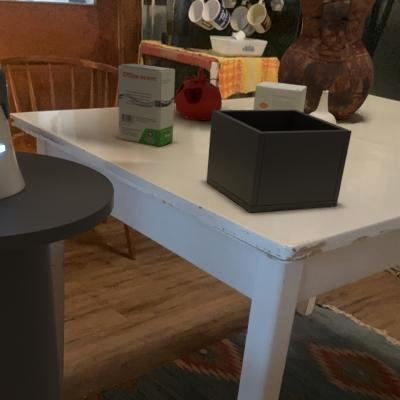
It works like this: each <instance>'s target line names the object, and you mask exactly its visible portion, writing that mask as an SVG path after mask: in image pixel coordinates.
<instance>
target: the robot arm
mask: <svg viewBox="0 0 400 400" xmlns="http://www.w3.org/2000/svg"><path fill="white" fill-rule="evenodd" d="M222 1H223V4H224V8H225V9H234V8H235V6H236V4H237V0H222ZM269 4H270V7H271V10H272V11H273V12H281V11H282V9H283V7H284V4H285V2H284V0H271V1H270V3H269ZM9 95H10V94H9V85H8V80H7V77H6V71H5V70H3V68H2V62H1V60H0V199H3V198H6V197H10V196H12V195H15V194H17V193H19V192H20V191H22V190H23V189H24V187H25V182H24V179H23V177H22V174H21V171H20V168H19V165H18V162H17V159H16V155H15V151H16V150H15V147H14V144H13V139H12V134H11V130H10V123H9V119H10V112H11V108H10V107H11V106H10V96H9Z"/></svg>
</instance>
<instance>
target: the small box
mask: <svg viewBox="0 0 400 400" xmlns="http://www.w3.org/2000/svg"><path fill="white" fill-rule="evenodd" d="M306 89H307V86H300V85H292V84H283V83H278V82H275V81H273V82H272V81H266V80H265V81H261V82H259V83H257V84H255V91H254V101H253V109H252V110H299V111H301V112H303V111H304V104H305V97H306Z"/></svg>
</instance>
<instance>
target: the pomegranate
mask: <svg viewBox="0 0 400 400" xmlns="http://www.w3.org/2000/svg"><path fill="white" fill-rule="evenodd" d="M204 73H205V69H204V68H199V69H198V77H197V76H196V75H195V74H192V75H191V76H189V75H187V76H181V78H180V79H183V78H188V79H186V80H183V81H182V82H181V84H180V85H179V87H178V89H177V91H176V97H175V98H174V105H175V110H176V112H177V114H178V115H180V116H181V117H184V118H186V119H189V120H194V121H209V120H210V121H211V118H212V110H222V105H223V100H222V94H221V91H220V89H219V87H217V86H216V85H215V84H213V83H212V82H210V81H212V80H214V81H218V78H214V77H213V78H207V77H206V74H204Z"/></svg>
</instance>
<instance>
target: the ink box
mask: <svg viewBox="0 0 400 400" xmlns="http://www.w3.org/2000/svg"><path fill="white" fill-rule="evenodd" d="M175 80H176V69H175V68H171V67H170V68H169V67H163V66H155V65H149V64H141V63H121V64H120V65H118V138H119V139H121V140H125V141H131V142H137V143H142V144H146V145H147V144H148V145H153V146H158V147H159V146H164V145H167V144H170V143H172V142H173V139H174V111H175V83H176V81H175Z"/></svg>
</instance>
